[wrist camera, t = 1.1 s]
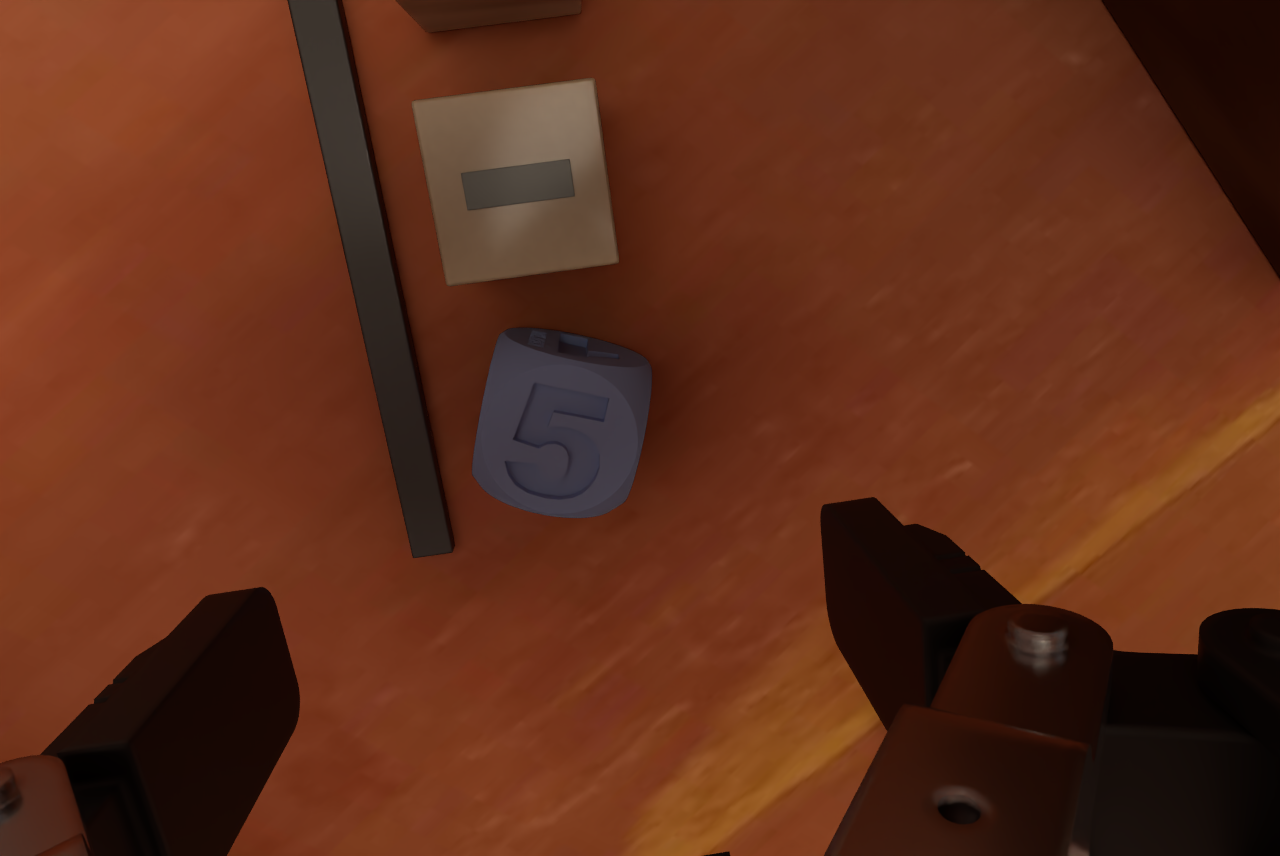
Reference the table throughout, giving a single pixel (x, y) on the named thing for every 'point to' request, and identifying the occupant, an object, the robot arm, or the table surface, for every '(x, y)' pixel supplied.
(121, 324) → the table surface
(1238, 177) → the dark brown block
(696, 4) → the table surface
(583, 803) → the table surface
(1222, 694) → the robot arm
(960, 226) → the table surface
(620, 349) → the decorative dice
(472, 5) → the beige cubes with bar
